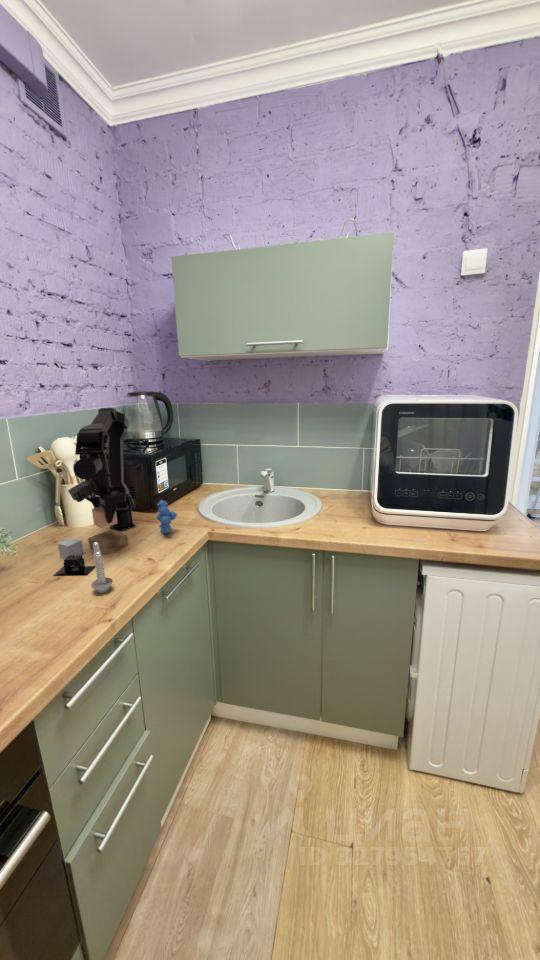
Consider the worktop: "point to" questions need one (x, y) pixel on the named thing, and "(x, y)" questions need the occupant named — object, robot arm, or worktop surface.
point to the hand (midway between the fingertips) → (105, 520)
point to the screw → (100, 572)
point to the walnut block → (109, 541)
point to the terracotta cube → (102, 518)
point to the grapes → (165, 516)
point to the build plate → (74, 567)
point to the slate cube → (70, 548)
